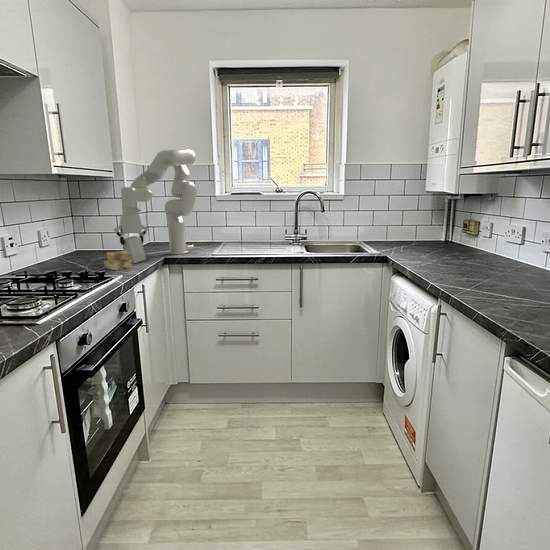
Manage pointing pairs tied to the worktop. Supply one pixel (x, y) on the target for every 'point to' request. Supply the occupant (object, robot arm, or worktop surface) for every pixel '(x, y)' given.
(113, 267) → the tower base block
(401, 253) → the worktop surface
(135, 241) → the supplement box
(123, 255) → the tower top block
